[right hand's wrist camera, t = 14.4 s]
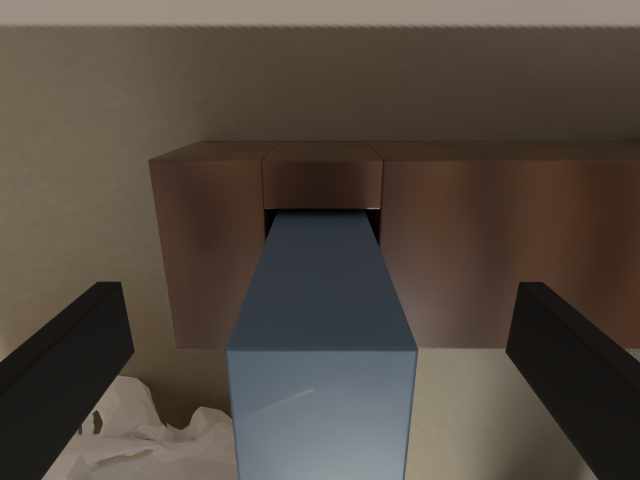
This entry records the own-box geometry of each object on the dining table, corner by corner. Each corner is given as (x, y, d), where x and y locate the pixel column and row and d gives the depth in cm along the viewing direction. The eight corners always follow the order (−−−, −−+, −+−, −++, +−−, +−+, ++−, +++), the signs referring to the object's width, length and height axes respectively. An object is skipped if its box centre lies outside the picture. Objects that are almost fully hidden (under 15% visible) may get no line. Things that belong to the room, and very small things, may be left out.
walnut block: (726, 141, 22) (898, 160, 15) (675, 283, 25) (800, 349, 19) (199, 141, 22) (147, 159, 15) (214, 282, 25) (176, 348, 19)
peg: (354, 183, 23) (419, 347, 8) (352, 246, 24) (404, 487, 9) (287, 183, 23) (223, 347, 8) (289, 246, 24) (237, 487, 9)
